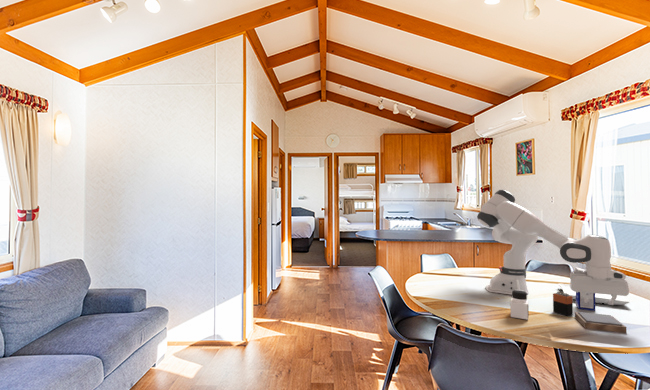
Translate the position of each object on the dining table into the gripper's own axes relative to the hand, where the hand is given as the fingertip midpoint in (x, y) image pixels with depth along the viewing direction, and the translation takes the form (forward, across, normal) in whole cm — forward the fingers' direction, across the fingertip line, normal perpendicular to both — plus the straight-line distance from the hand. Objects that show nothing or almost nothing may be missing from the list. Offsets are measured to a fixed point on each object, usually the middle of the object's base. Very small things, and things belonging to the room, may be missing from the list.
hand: (598, 303), depth 147 cm
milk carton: (+10, +2, +25) cm, 27 cm away
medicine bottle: (+10, -30, -1) cm, 32 cm away
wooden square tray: (+9, 0, 0) cm, 9 cm away
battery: (+10, -11, +11) cm, 18 cm away
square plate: (+10, +11, +49) cm, 51 cm away
